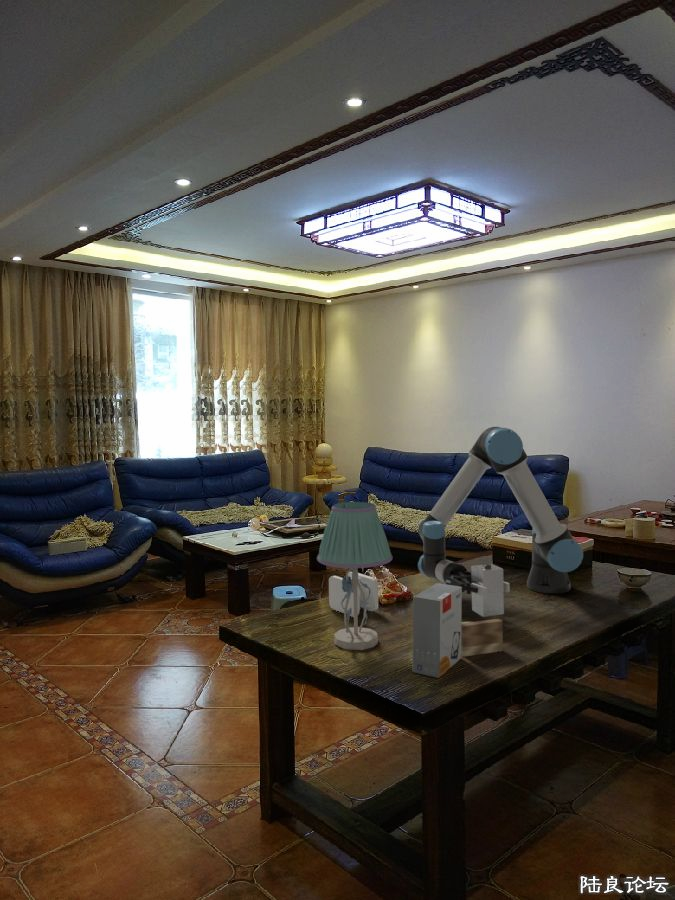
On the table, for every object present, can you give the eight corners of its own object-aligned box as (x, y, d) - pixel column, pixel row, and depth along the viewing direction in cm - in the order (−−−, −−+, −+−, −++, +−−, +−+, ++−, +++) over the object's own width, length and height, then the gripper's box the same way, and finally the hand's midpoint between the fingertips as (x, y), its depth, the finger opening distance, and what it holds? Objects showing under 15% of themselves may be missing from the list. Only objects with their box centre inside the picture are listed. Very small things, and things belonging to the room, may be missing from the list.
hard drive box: (439, 679, 164) (439, 601, 162) (411, 673, 168) (410, 597, 166) (462, 658, 177) (462, 585, 175) (436, 652, 181) (435, 581, 179)
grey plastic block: (327, 608, 221) (326, 574, 220) (351, 602, 227) (350, 569, 226) (355, 620, 209) (355, 584, 208) (380, 612, 215) (379, 578, 215)
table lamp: (342, 624, 205) (340, 497, 202) (405, 636, 194) (404, 502, 191) (304, 647, 186) (301, 508, 183) (371, 662, 175) (369, 514, 172)
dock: (471, 629, 198) (471, 601, 198) (502, 651, 181) (502, 620, 180) (434, 634, 195) (434, 606, 194) (463, 656, 178) (463, 626, 177)
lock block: (492, 607, 206) (491, 561, 205) (503, 614, 200) (503, 566, 198) (472, 610, 204) (471, 563, 203) (483, 617, 198) (482, 568, 196)
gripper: (477, 579, 222) (524, 596, 202) (425, 589, 213) (470, 608, 193) (476, 557, 222) (523, 572, 201) (425, 566, 212) (469, 583, 192)
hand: (497, 590), depth 197 cm, fingers closed on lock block, 8 cm apart
